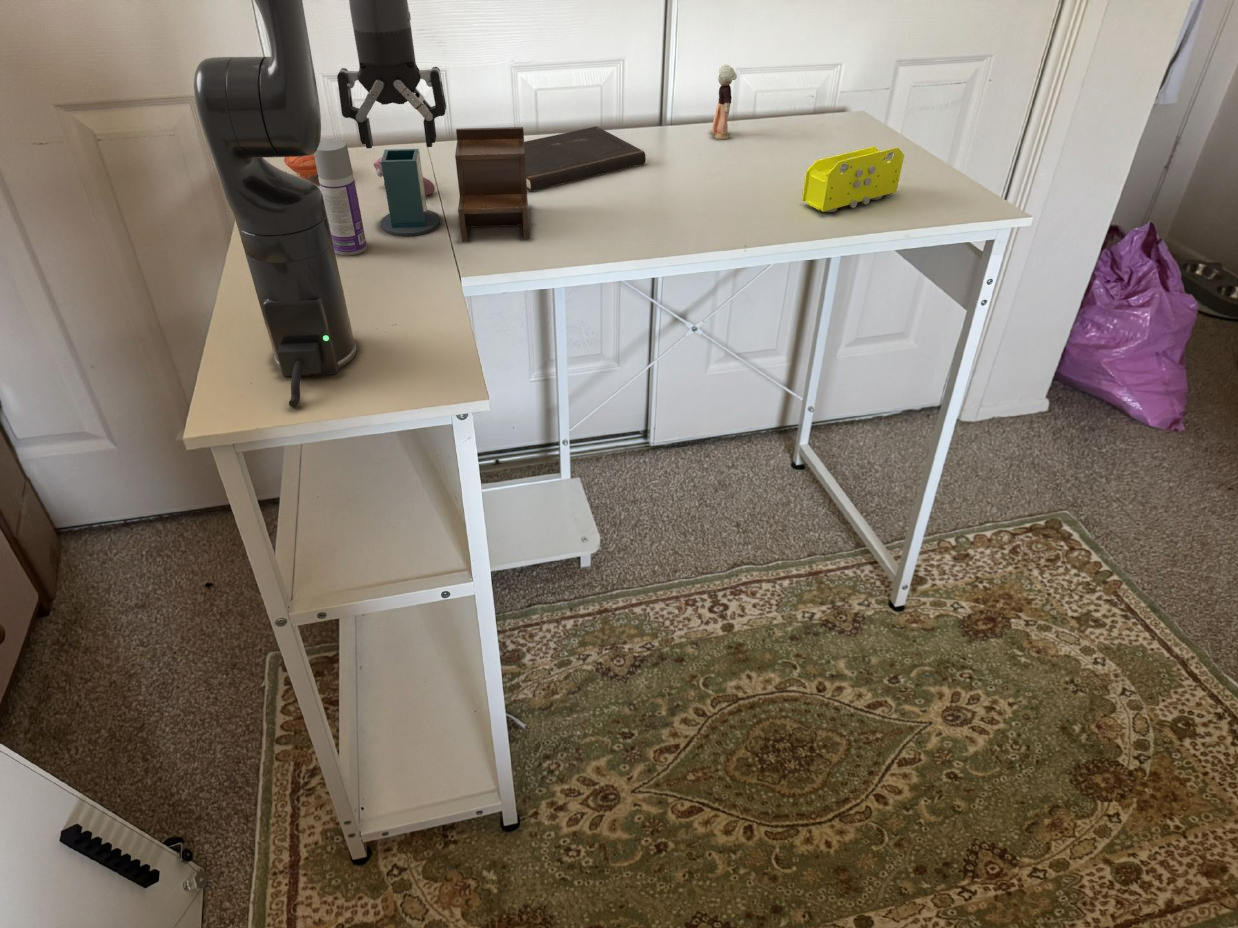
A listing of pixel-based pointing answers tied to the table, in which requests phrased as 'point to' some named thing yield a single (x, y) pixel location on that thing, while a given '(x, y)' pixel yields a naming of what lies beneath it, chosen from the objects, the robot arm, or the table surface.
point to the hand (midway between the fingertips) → (400, 146)
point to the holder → (404, 187)
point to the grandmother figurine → (723, 102)
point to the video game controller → (428, 184)
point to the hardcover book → (577, 157)
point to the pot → (302, 165)
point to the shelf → (491, 178)
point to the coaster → (431, 225)
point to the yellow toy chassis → (852, 178)
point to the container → (340, 197)
